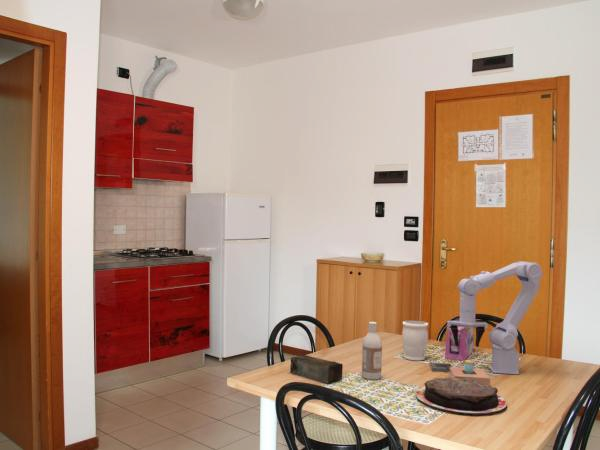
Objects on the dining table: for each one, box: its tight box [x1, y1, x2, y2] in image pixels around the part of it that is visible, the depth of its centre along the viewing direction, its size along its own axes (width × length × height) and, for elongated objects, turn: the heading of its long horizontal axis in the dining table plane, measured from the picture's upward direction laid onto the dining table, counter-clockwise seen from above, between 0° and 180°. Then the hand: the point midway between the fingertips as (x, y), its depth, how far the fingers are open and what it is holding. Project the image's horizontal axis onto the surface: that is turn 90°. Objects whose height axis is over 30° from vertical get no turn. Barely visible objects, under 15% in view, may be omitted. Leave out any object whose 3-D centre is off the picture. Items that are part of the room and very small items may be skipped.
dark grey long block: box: [289, 354, 344, 385], centre depth 189 cm, size 8×19×7 cm, turn 47°
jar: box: [401, 320, 429, 362], centre depth 217 cm, size 11×10×15 cm
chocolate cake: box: [415, 376, 508, 417], centre depth 167 cm, size 28×28×7 cm
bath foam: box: [361, 321, 383, 381], centre depth 189 cm, size 7×7×20 cm
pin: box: [464, 359, 475, 374], centre depth 189 cm, size 3×3×7 cm
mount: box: [429, 362, 453, 373], centre depth 202 cm, size 8×8×1 cm
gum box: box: [444, 318, 475, 362], centre depth 226 cm, size 24×8×14 cm, turn 152°
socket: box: [448, 366, 491, 386], centre depth 188 cm, size 12×12×3 cm
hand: (466, 345), depth 199 cm, fingers open, 7 cm apart
